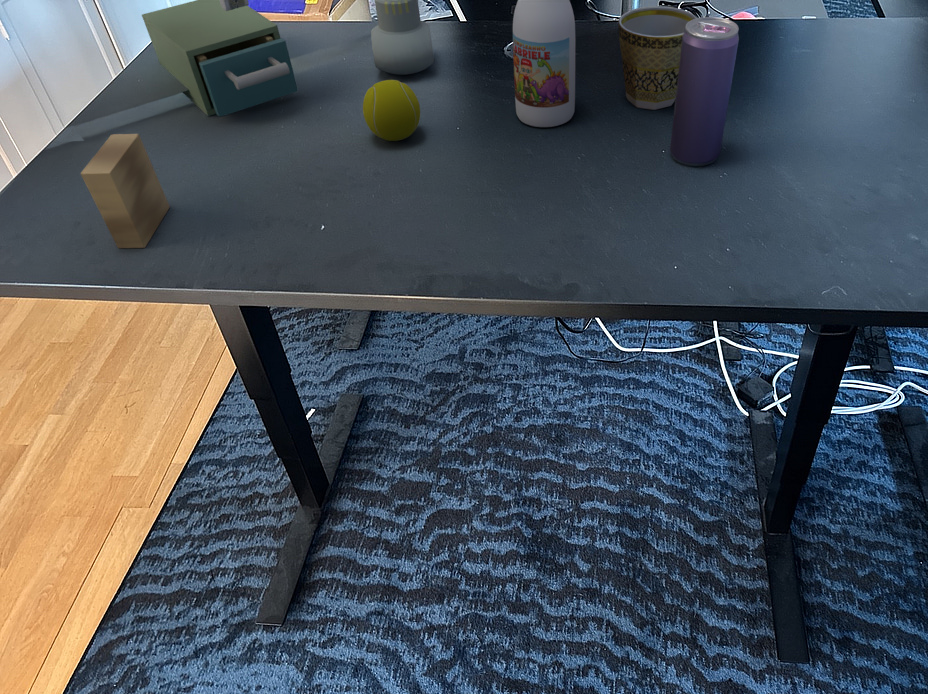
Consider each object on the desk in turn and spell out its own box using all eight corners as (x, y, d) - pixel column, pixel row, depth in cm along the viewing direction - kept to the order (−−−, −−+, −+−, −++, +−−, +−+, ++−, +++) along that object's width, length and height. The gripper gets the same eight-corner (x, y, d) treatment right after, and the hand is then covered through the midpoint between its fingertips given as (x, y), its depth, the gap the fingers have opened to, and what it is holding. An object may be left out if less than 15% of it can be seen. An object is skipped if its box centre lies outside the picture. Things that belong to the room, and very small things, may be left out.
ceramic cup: (679, 120, 99) (689, 40, 92) (605, 109, 102) (608, 31, 94) (700, 78, 107) (710, 1, 100) (631, 69, 110) (636, -6, 103)
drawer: (314, 102, 103) (301, 51, 98) (234, 130, 99) (216, 77, 94) (251, 55, 115) (237, 7, 110) (177, 78, 110) (158, 29, 105)
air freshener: (436, 80, 109) (427, 6, 102) (377, 85, 108) (364, 11, 101) (432, 49, 117) (423, -23, 109) (377, 54, 116) (365, -18, 109)
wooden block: (145, 248, 83) (109, 172, 76) (117, 248, 83) (79, 173, 76) (170, 206, 88) (139, 133, 82) (144, 207, 88) (111, 133, 82)
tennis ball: (417, 120, 101) (410, 66, 96) (428, 145, 96) (421, 90, 91) (364, 128, 100) (354, 75, 95) (373, 154, 95) (362, 100, 90)
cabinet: (293, 88, 109) (277, 25, 102) (208, 116, 103) (185, 51, 97) (245, 52, 118) (227, -9, 112) (164, 76, 113) (141, 14, 106)
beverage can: (714, 171, 90) (735, 40, 79) (664, 163, 92) (678, 34, 81) (723, 147, 94) (745, 19, 83) (675, 140, 96) (690, 13, 85)
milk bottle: (528, 98, 105) (523, -68, 90) (582, 106, 103) (585, -63, 88) (507, 124, 100) (497, -47, 85) (563, 133, 98) (563, -41, 83)
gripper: (271, -149, 90) (301, -21, 100) (93, -114, 82) (145, 22, 92) (295, -140, 86) (323, -8, 96) (111, -103, 78) (164, 37, 88)
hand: (235, 7), depth 94 cm, fingers closed
